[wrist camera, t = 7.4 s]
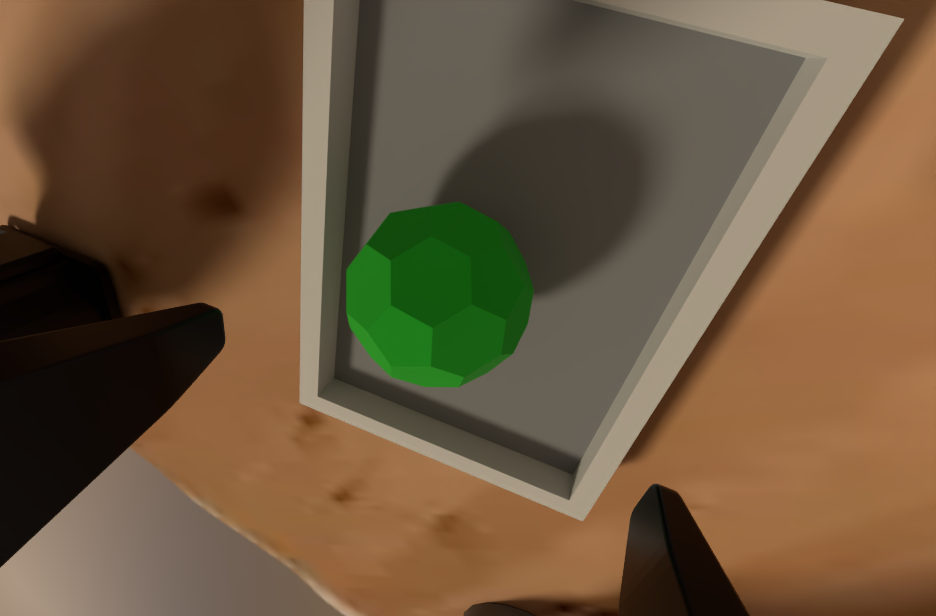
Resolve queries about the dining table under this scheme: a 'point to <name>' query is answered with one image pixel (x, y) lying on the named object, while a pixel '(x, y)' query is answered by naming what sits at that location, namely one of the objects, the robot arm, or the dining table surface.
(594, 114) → the tray
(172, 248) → the dining table surface
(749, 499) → the dining table surface
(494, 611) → the candle holder
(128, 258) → the dining table surface
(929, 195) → the dining table surface
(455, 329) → the polyhedron
